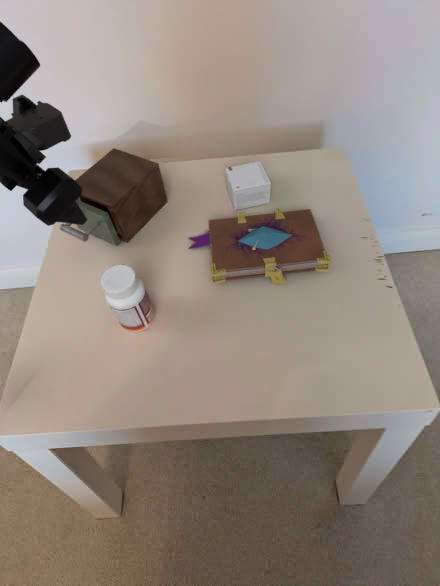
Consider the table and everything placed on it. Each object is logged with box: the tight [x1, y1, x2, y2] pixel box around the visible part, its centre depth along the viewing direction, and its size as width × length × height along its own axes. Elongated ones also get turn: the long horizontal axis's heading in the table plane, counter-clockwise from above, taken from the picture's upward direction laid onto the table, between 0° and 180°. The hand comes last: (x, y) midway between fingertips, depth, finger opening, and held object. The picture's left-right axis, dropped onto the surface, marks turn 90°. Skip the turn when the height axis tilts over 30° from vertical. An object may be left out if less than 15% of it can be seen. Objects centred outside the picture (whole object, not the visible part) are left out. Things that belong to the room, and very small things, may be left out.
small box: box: [224, 160, 272, 211], centre depth 77 cm, size 8×8×5 cm
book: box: [187, 207, 333, 285], centre depth 68 cm, size 16×25×5 cm, turn 95°
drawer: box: [59, 196, 122, 247], centre depth 72 cm, size 17×10×8 cm, turn 148°
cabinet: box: [74, 147, 169, 244], centre depth 75 cm, size 14×12×10 cm
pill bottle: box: [100, 264, 156, 333], centre depth 59 cm, size 6×6×11 cm
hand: (67, 207), depth 55 cm, fingers open, 9 cm apart
